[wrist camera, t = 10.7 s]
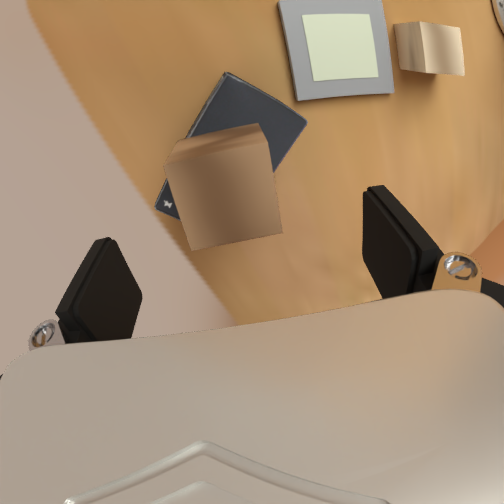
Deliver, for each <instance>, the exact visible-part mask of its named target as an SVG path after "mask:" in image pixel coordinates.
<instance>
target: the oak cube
mask: <svg viewBox="0 0 504 504" xmlns="http://www.w3.org/2000/svg"><path fill="white" fill-rule="evenodd" d="M394 30H395V37H396V43H397V50H398V58H399V66H400V69H403V70H410V71H417V72H423V73H435V74H450V75H461V76H465V71H464V59H463V49H462V41H461V33H460V28H457V27H451V26H446V25H440V24H434V23H427V22H420V21H419V22H409V23H400V24H394Z"/></svg>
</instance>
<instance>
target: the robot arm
mask: <svg viewBox="0 0 504 504" xmlns="http://www.w3.org/2000/svg"><path fill="white" fill-rule="evenodd" d="M492 4H493V8H494V12H495V15H496V18H497V21H498V23H499V25H500V28H501V30H502V32H503V33H504V0H492ZM362 255H363V260H364V262H365V264H366V266H367V268H368V270H369V272H370V274H371V276H372V278H373V280H374V282H375V284H376V286H377V288H378V290H379V292H380V294H381V296H382V298H383V299H380V300H376V301H371V302H367V303H362V304H357V305H352V306H348V307H343V308H338V309H333V310H328V311H323V312H317V313H312V314H306V315H301V316H295V317H290V318H284V319H278V320H272V321H266V322H260V323H253V324H247V325H240V326H234V327H226V328H219V329H212V330H204V331H197V332H188V333H180V334H171V335H163V336H153V337H143V338H132V339H131V337H132V333H133V330H134V325H135V322H136V319H137V315H138V312H139V309H140V305H141V302H142V292H141V290H140V288H139V286H138V284H137V282H136V281H135V279H134V277H133V275H132V273H131V271H130V269H129V267H128V265H127V263H126V261H125V259H124V257H123V255H122V253H121V251H120V248H119V247H118V244H117V242H116V241H115V240H112V239H111V238H110V237H106V238H103V239H99V240H96V241H95V242H94V243H93V245H92V247H91V248H90V250H89V252H88V253H87V255H86V257H85V258H84V260H83V262H82V264H81V265H80V267H79V269H78V270H77V272H76V274H75V276H74V278H73V279H72V281H71V283H70V285H69V287H68V288H67V290H66V292H65V294H64V296H63V298H62V300H61V302H60V304H59V306H58V308H57V309H56V312H55V313H56V315H57V316H58V317H59V319H60V320H59V321H58V323H57V321H55V320H47V321H44V322H43V323H41V324H40V325H38V326H37V327H36V328H35V329H34V331H33V332H32V334H31V335H30V338H29V349H30V351H29V352H26V353H25V354H22V355H20V356H19V357H17V358H16V359H14V360H13V361H12V362H11V363H10V364H9V365H8V367H7V369H6V370H5V372H4V374H2V375H1V376H0V504H504V286H503V285H500V284H498V283H495V282H492V281H489V280H487V279H484V278H482V269H481V266H480V264H479V263H478V262H477V261H476V260H475V259H474V258H472V257H471V256H469V255H467V254H464V253H459V252H450V253H447V254H445V255H444V254H443V252H442V251H441V250H440V249H439V247H438V246H437V244H436V243H435V242H434V241H433V239H432V238H431V237H430V236H429V235H428V233H427V232H426V231H425V230H424V229H423V228H422V226H421V225H420V224H419V223H418V222H417V221H416V220H415V218H414V217H413V216H412V215H411V214H410V213H409V212H408V211H407V210H406V208H405V207H404V206H403V205H402V204H401V203H400V202H399V201H398V200H397V199H396V198H395V197H394V195H393V194H392V193H391V192H390V191H389V190H388V189H387V188H386V187H385V186H384V185H379V186H372V187H368V188H367V191H365V192H363V244H362Z"/></svg>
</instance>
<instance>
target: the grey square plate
mask: <svg viewBox="0 0 504 504" xmlns="http://www.w3.org/2000/svg"><path fill="white" fill-rule="evenodd" d="M278 8H279V12H280V17H281V22H282V26H283V31H284V36H285V41H286V46H287V51H288V57H289V62H290V68H291V73H292V79H293V85H294V91H295V97H296V100H297V101H301V100H309V99H318V98H327V97H337V96H349V95H363V94H383V93H394V83H393V73H392V63H391V55H390V48H389V41H388V34H387V28H386V22H385V16H384V11H383V6H382V1H381V0H280V1H278Z"/></svg>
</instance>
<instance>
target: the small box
mask: <svg viewBox="0 0 504 504" xmlns="http://www.w3.org/2000/svg"><path fill="white" fill-rule="evenodd" d="M255 123H258V124H259V126H260V128H261V130H262V132H263V134H264V136H265V138H266V140H267V142H268V146H269V152H270V157H271V163H272V169H273V173H274V172H275V170H276V169H277V167H278V166H279V164H280V163H281V161H282V160H283V158H284V157H285V155H286V154H287V152H288V151H289V150H290V148H291V147H292V145H293V144H294V142H295V141H296V139H297V138H298V137H299V135H300V134H301V132H302V131H303V129H304V128H305V126H306V125H307V123H308V122H307V120H306V119H305V118H303V117H302V116H301V115H299V114H298V113H296V112H295V111H294V110H292V109H291V108H289V107H288V106H286V105H285V104H283V103H282V102H280V101H279V100H277V99H275V98H274V97H272V96H270V95H269V94H267V93H265V92H263V91H262V90H260V89H258V88H256V87H255V86H253V85H251V84H249V83H248V82H246V81H244V80H242V79H240V78H238V77H237V76H235V75H233V74H231V73H229V72H224V74H223V75H222V77H221V79H220V80H219V82H218V83H217V85H216V86H215V88H214V90H213V91H212V93H211V95H210V96H209V98H208V100H207V101H206V103H205V105H204V106H203V108H202V110H201V111H200V113H199V115H198V117H197V118H196V120H195V122H194V124H193V125H192V126H191V129H190V130H189V132H188V135H187V136H186V138H190V137H194V136H198V135H202V134H207V133H211V132H215V131H220V130H224V129H229V128H234V127H239V126H244V125H249V124H255ZM186 138H185V139H186ZM154 207H155V210H157V211H159V212H162V213H164V214H167V215H169V216H171V217H173V218H176V219H178V220H180V221H181V219H180V216H179V213H178V210H177V207H176V204H175V201H174V198H173V195H172V192H171V189H170V186H169V183H168V179H166V180H165V183H164V185H163V187H162V189H161V192H160V194H159V196H158V198H157V201H156V203H155V206H154Z"/></svg>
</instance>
